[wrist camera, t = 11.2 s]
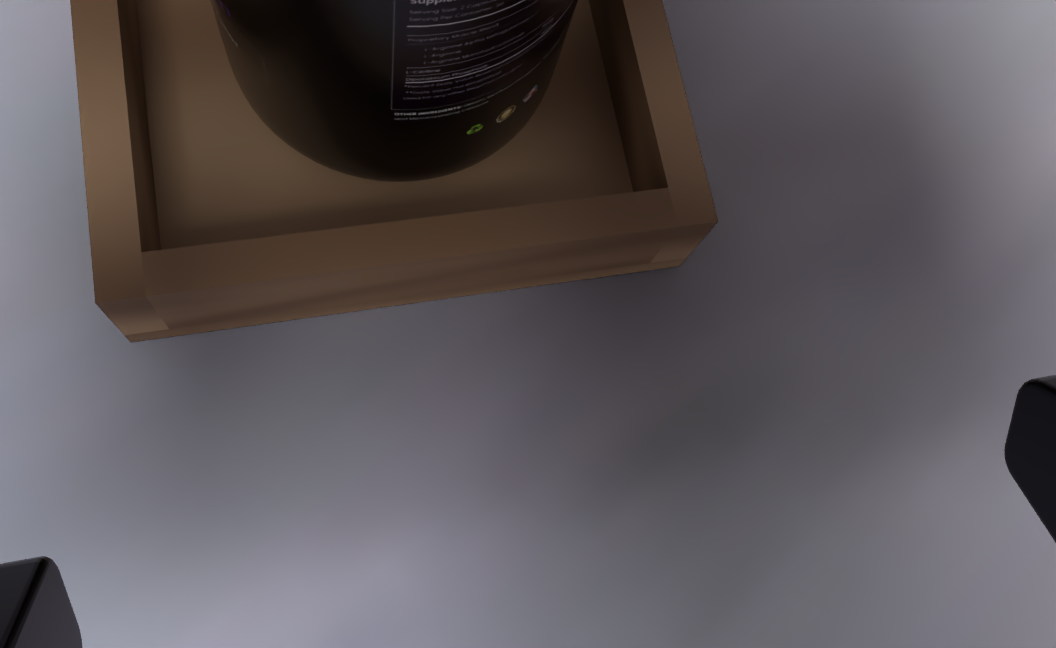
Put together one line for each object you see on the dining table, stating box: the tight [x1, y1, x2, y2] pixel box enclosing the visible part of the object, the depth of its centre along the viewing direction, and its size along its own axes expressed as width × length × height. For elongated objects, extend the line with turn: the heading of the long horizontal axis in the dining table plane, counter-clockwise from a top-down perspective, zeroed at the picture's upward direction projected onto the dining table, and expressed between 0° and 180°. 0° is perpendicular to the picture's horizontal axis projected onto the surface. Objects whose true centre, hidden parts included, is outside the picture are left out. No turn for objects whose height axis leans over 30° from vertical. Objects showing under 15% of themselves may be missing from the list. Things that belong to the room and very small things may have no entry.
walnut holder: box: [70, 0, 718, 342], centre depth 20 cm, size 11×11×2 cm
